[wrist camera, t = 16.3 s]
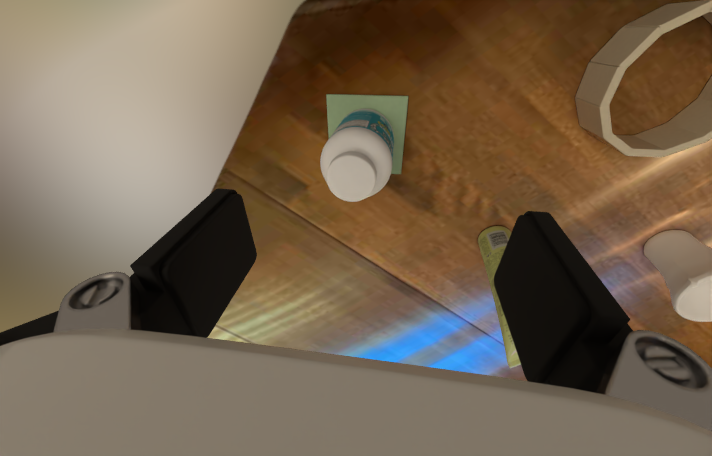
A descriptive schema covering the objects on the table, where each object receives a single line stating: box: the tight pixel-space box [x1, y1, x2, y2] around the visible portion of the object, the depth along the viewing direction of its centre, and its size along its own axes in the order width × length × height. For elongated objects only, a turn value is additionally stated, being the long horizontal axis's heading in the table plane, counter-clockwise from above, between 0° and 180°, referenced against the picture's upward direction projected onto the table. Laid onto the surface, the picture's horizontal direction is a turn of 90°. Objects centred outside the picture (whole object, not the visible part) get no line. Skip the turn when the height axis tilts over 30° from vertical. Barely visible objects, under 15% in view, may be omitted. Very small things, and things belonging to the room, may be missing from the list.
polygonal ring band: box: [575, 0, 712, 157], centre depth 28 cm, size 13×13×5 cm
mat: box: [326, 94, 408, 174], centre depth 38 cm, size 10×10×1 cm
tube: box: [478, 226, 521, 368], centre depth 36 cm, size 6×5×20 cm
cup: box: [644, 230, 712, 322], centre depth 37 cm, size 9×9×10 cm
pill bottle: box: [320, 109, 394, 202], centre depth 32 cm, size 8×7×14 cm
